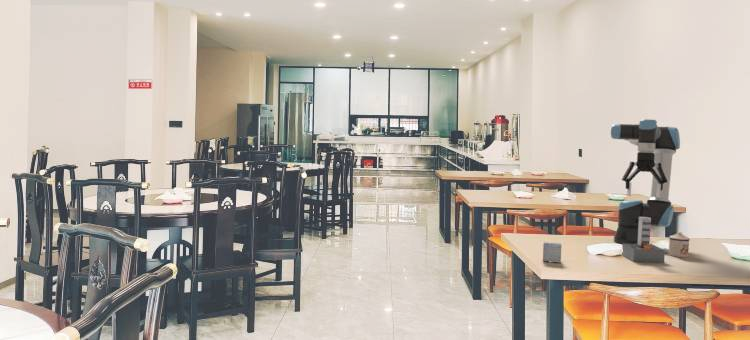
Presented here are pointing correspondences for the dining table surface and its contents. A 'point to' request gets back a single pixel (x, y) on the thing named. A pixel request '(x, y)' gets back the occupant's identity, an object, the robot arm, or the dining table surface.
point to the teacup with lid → (678, 245)
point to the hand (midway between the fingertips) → (643, 196)
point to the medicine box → (552, 252)
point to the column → (644, 231)
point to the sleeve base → (643, 253)
